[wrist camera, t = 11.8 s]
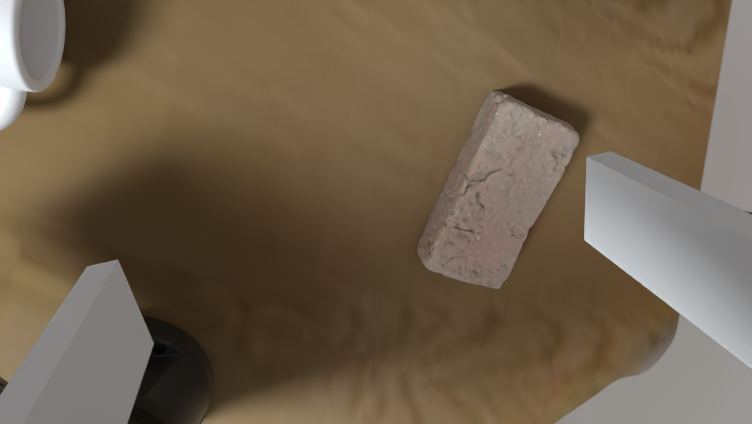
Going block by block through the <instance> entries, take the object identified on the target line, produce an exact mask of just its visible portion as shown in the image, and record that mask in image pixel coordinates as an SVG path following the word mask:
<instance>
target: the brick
mask: <svg viewBox="0 0 752 424" xmlns="http://www.w3.org/2000/svg"><path fill="white" fill-rule="evenodd" d="M578 143H579V134H578V132H576V131H575V130H574V127H573V126H571V125H570V124H569V123H567V122H565V121H563V120H561V119H558V118H556V117H553V116H552V115H550V114H547V113H544V112H543V111H541V110H539V109H537V108H535V107H532V106H530V105H527V104H525V103H523V102H521V101H519V100H517V99H515V98H513V97H512V96H510V95H508V94H505V93H502V92H500V91H492V92H490V94H489V95H488V96H487V97H486V99H485V102H484V104H483V106H482V107H481V108H480V110H479V112H478V115H477V117H476V119H475V122H474V124H473V127H472V131H471V136H469V138H468V140H467V141H466V143H465V144H464V146H463V148H462V149H461V151H460V154H459V157H458V160H457V163H456V164H455V166H454V168H453V169H452V170H451V172H450V175H449V177H448V179H447V181H446V183H445V185H444V190H443V191H442V192H441V194H440V196H439V198H438V200H437V202H436V205H435V207H434V209H433V211H432V213H431V216H430V218H429V220H428V222H427V224H426V227H425V229H424V232H423V234H422V236H421V237H420V240H419V243H418V246H417V253H418V255H419V257H420V260H421V262H422V263H423V264H424V265H425V267H426V268H427V269H428V270H430V271H434V272H436V273H442V274H443V275H444V276H447V277H451V278H454V279H457V280H460V281H463V282H467V283H472V284H477V285H482V286H485V287H491V288H494V289H499V288H500V287H501V286H502V284H503V283H504V281H506V280H507V279H508V277H509V275H510V273H511V270H512V268H513V266H514V264H515V262H516V260H517V258H518V255H519V253H520V250H521V248H522V246H523V242H524V241H525V240H526V237H527V235H528V230H529V228H530V227H531V226H532V225H533V224H534V223H535V221H536V219H537V218H538V216H539V214H540V213H541V211H542V209H543V208H544V206H545V204H546V203H547V200H548V199H549V197H550V196H551V194H552V192H553V191H554V189H555V187H556V185H557V183H558V182H559V181H560V179H561V177H562V175H563V173H564V171H565V166H566V165H568V164H569V162H570V160H571V158H572V155H573V151H574V150H575V148H576V147H577V146H578Z"/></svg>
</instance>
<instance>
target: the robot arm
mask: <svg viewBox="0 0 752 424" xmlns="http://www.w3.org/2000/svg"><path fill="white" fill-rule="evenodd" d="M584 240H585V241H586V242H587V243H589V244H590V245H591V246H593V247H594V248H595V249H597V250H598V251H599V252H600V253H602V254H603V255H604V256H606V257H607V258H608V259H610V260H611V261H612V262H613V263H615V264H616V265H617V266H619V267H620V268H621V269H623V270H624V271H625V272H626V273H628V274H629V275H630V276H632V277H633V278H634V279H636V280H637V281H638V282H640V283H641V284H642V285H643V286H645V287H646V288H647V289H649V290H650V291H651V292H653V293H654V294H655V295H656V296H658V297H659V298H660V299H662V300H663V301H664V302H666V303H667V304H668V305H670V306H671V307H672V308H673V309H675V310H676V311H677V312H679V313H680V314H681V315H683V316H684V317H685V318H687V319H688V320H689V321H691V322H692V323H693V324H694V325H696V326H697V327H698V328H699V329H701V330H702V331H704V332H705V333H706V334H707V335H709V336H710V337H711V338H713V339H714V340H715V341H716V342H718V343H719V344H720V345H722V346H723V347H724V348H726V349H727V350H728V351H729V352H731V353H732V354H733V355H735V356H736V357H737V358H739V359H740V360H741V361H743V362H744V363H746V365H748V366H749V367H750V368H752V213H751V212H747V211H743V210H741V209H739V208H736V207H734V206H732V205H730V204H728V203H725V202H723V201H721V200H719V199H716V198H714V197H712V196H710V195H707V194H705V193H703V192H701V191H699V190H696V189H694V188H692V187H690V186H687V185H685V184H683V183H681V182H678V181H676V180H674V179H672V178H669V177H667V176H665V175H663V174H661V173H658V172H656V171H654V170H652V169H649V168H647V167H645V166H643V165H640V164H638V163H636V162H634V161H632V160H629V159H627V158H625V157H623V156H620V155H618V154H616V153H614V152H611V151H610V152H605V153H601V154H596V155H592V156H587V163H586V196H585V228H584ZM212 382H213V379H212V370H211V366H210V363H209V361H208V358H207V357H206V355H205V353H204V352H203V350H202V349H201V348H200V346H199V345H198V344H197V343H196V342H195V341H194V340H193V339H192V338H191V337H189V336H188V335H187V334H185V333H184V332H182V331H181V330H179V329H177V328H175V327H173V326H171V325H169V324H167V323H164V322H161V321H158V320H154V319H150V318H145V317H142V314H141V312H140V310H139V307H138V305H137V303H136V300H135V298H134V296H133V293H132V291H131V289H130V286H129V284H128V282H127V279H126V277H125V275H124V272H123V270H122V268H121V265H120V263H119V261H118V260H114V261H109V262H105V263H100V264H96V265H91V266H87V267H86V269H85V270H84V272H83V273H82V275H81V276H80V278H79V279H78V281H77V282H76V284H75V285H74V287H73V288H72V290H71V291H70V293H69V294H68V296H67V297H66V298H65V300H64V301H63V303H62V304H61V306H60V307H59V309H58V310H57V312H56V313H55V315H54V316H53V318H52V319H51V321H50V322H49V324H48V325H47V327H46V328H45V330H44V331H43V332H42V334H41V335H40V337H39V338H38V340H37V341H36V343H35V344H34V346H33V347H32V349H31V350H30V352H29V353H28V355H27V356H26V358H25V359H24V361H23V362H22V364H21V365H20V366H19V368H18V369H17V371H16V372H15V374H14V375H13V377H12V378H11V380H10V381H9V383H8V382H7V381H5V380H4V379H3V378H1V377H0V424H201V423H202V421H203V419H204V417H205V415H206V412H207V410H208V407H209V403H210V397H211V390H212Z"/></svg>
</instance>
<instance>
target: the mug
mask: <svg viewBox="0 0 752 424" xmlns="http://www.w3.org/2000/svg"><path fill="white" fill-rule="evenodd" d="M65 29H66V21H65V7H64V0H0V131H1V130H3V129H5V128H7V127H8V126H10V125H11V124H12V123H13V122H14V121H15V120H16V119H17V118H18V117H19V115H20V114H21V112H22V110H23V108H24V105H25V101H26V97H27V91H30V92H40V91H43V90H45V89H46V88H47V87H48V86H49V85H50V84H51V83H52V81H53V80H54V78H55V76H56V74H57V72H58V69H59V66H60V63H61V59H62V55H63V50H64V43H65Z"/></svg>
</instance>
